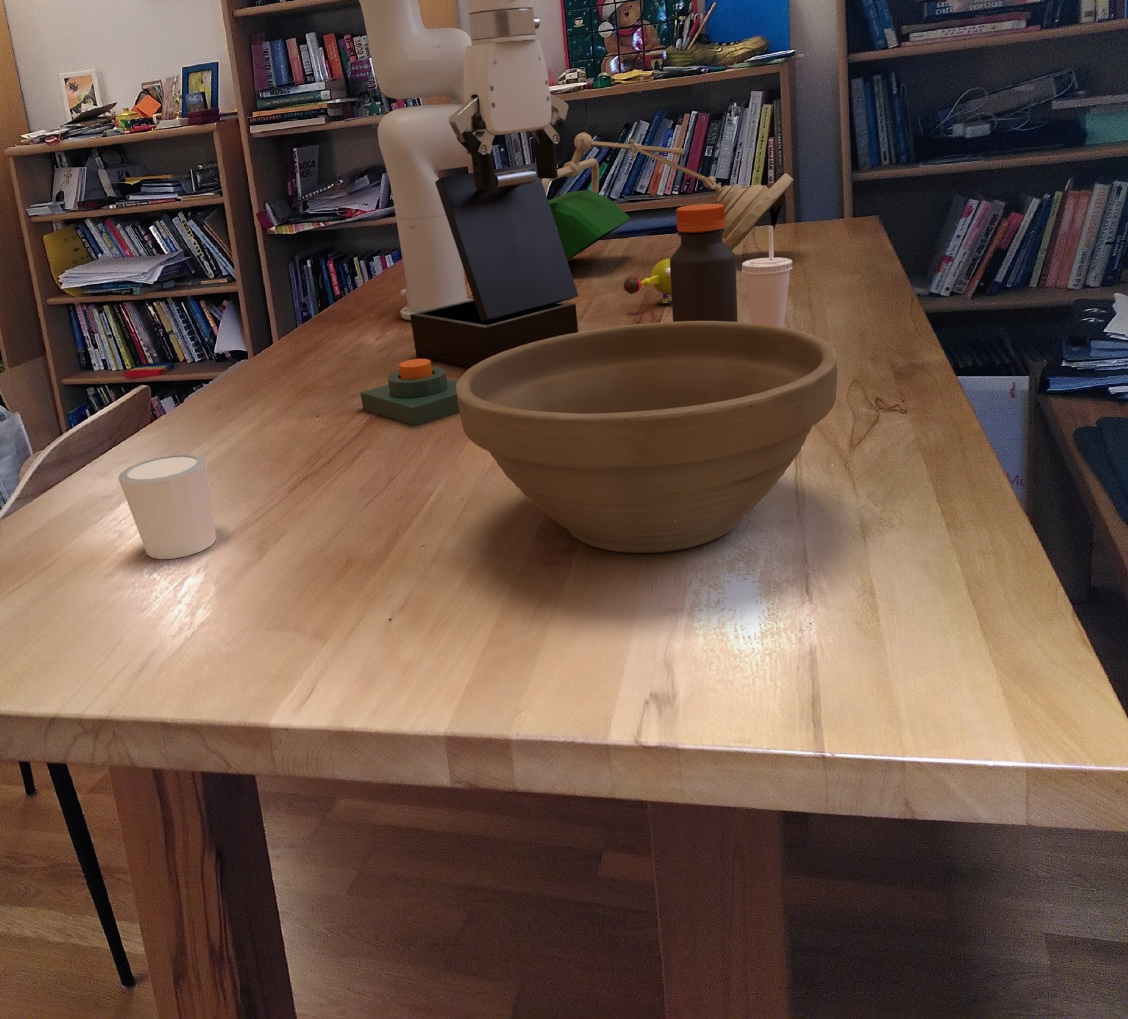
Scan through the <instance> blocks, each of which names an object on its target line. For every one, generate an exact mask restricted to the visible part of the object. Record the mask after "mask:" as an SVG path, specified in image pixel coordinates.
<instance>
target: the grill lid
mask: <svg viewBox="0 0 1128 1019" xmlns="http://www.w3.org/2000/svg"><path fill="white" fill-rule="evenodd" d="M494 172H495V182H496V187H495V189H491V190H486V189H477V188H476V184H475V180H474V173H473V172H469V173H462V174H455V175H449V176H443V177H440V178H439V179H438V180H437V181H436V182H435V184H436V187H437V190H438V193H439V196H440V199H441V202H442V205H443V208H444V211H445V214H446V217H447V220H448V223H449V226H450V229H451V232H452V235H453V238H454V241H455V244H456V247H457V250H458V253H459V256H460V259H461V262H462V265H463V269H464V275H465V277H466V280H467V283H468V286H469V289H470V292H471V295H472V299H474V301H475V304H476V307H477V310H478V313H479V316H480V319H481V322H486V321H490V320H494V319H497V318H501V317H505V316H509V315H513V314H517V313H520V312H524V311H528V310H532V309H536V308H540V307H543V306H547V305H551V304H555V303H559V302H566V301H569V300H573V299H575V298H578V297H579V294H578V290H577V287H576V284H575V281H574V277H573V275H572V271H571V268H570V264H569V261H567V259H566V255H565V252H564V249H563V246H562V243H561V240H560V237H559V234H558V230H557V227H556V224H555V221H554V218H553V215H552V212H551V209H550V205H549V202H548V201H549V199H548V195H546V193H545V190H544V187H543V184H542V178H539V177H538V175H537V164H536V162H533V163H526V164H520V165H513V166H507V167H500V168H494Z"/></svg>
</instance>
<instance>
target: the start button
mask: <svg viewBox="0 0 1128 1019" xmlns="http://www.w3.org/2000/svg"><path fill="white" fill-rule="evenodd" d="M432 367H433V366H432V361H430V360H428V359H420V358H413V359H408V360H404V361H402V362H400V363H399V364H398V368H399V371H400V376H401V379H403V380H413V379H420V378H425V377H429V376H432V375H433V374H432Z"/></svg>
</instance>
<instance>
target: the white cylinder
mask: <svg viewBox="0 0 1128 1019" xmlns="http://www.w3.org/2000/svg"><path fill="white" fill-rule="evenodd" d="M117 480H118V481H119V484H120V487H121V490H122V492H123V494H124V497H125V500H126V502H127V505H128V508H129V510H130V513H131V515H132V519H133V521H134V524H135V527H136V528H137V532H138V534H139V537H140V539H141V542H142V545H143V547H144V549H145V552H146V554H147V555H148V556H149V557H150V558H153V559H157V560H173V559H174V560H175V559H179V558H183V557H184V558H185V557H190V556H192V555H194V554H198V553H201V552H203V551H205V550H206V549H209V548H210V547H211V546H212V545H213V544H214V543H215V542H216V539H217V534H216V528H215V521H214V520H215V519H214V513H213V504H212V498H211V491H210V483H209V475H208V466H207V461H206V458H205V457H203V456H201V455H199V454H190V453H187V454H172V455H171V454H170V455H166V456H160V457H154V458H152V459H147V460H144V461H141V462H139V463H135V464H134V465H131V466H128V467H127V468H125V469H124V470H122V471H121V472H120V473H119V475H118V479H117Z"/></svg>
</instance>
